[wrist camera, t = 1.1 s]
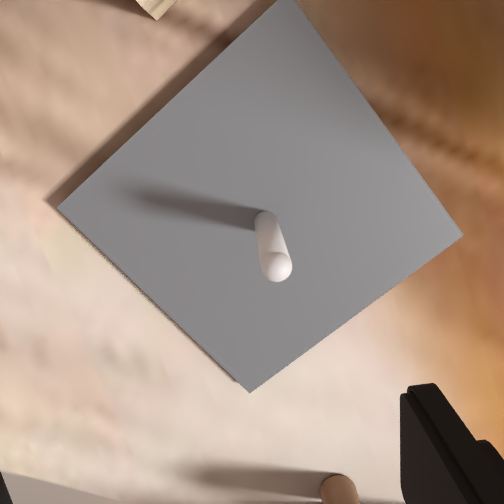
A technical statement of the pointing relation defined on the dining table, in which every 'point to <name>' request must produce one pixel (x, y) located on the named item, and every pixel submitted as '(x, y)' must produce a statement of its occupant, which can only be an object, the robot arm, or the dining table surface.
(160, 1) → the cream square box
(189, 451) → the dining table surface
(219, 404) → the dining table surface
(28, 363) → the dining table surface
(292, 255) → the grey peg base
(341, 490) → the wooden toy
